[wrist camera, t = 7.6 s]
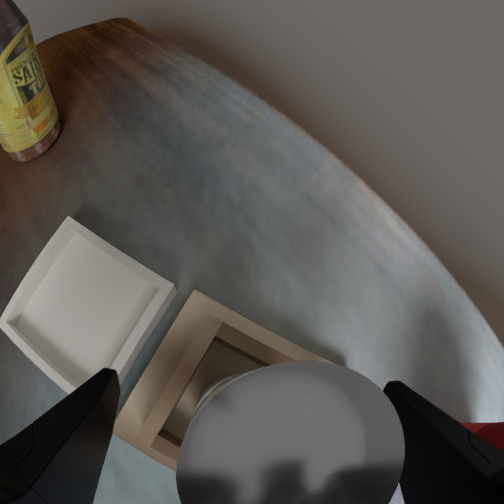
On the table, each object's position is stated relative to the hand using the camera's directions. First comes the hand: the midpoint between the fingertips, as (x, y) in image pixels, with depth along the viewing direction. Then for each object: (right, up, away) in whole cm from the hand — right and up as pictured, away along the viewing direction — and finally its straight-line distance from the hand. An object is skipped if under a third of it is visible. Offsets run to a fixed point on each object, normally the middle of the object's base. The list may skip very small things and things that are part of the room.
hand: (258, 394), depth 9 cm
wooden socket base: (-1, -5, +7) cm, 9 cm away
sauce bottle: (-21, +15, +14) cm, 29 cm away
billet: (-1, -4, +6) cm, 8 cm away
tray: (-11, 0, +8) cm, 14 cm away
